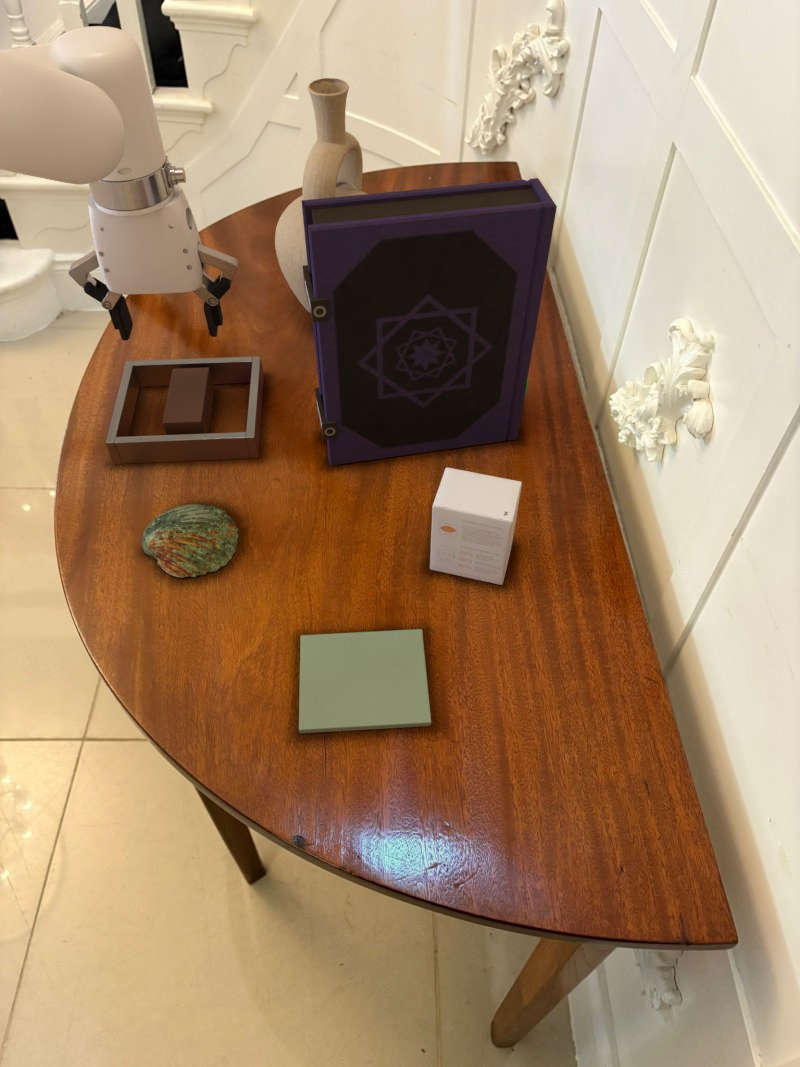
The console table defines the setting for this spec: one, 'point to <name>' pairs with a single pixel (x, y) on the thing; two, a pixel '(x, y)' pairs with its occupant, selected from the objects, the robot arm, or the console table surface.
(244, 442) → the rectangular frame
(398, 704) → the mat
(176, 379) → the brown rectangular block
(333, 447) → the book
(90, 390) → the console table surface
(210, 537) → the seashell
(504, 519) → the small box
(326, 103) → the vase
